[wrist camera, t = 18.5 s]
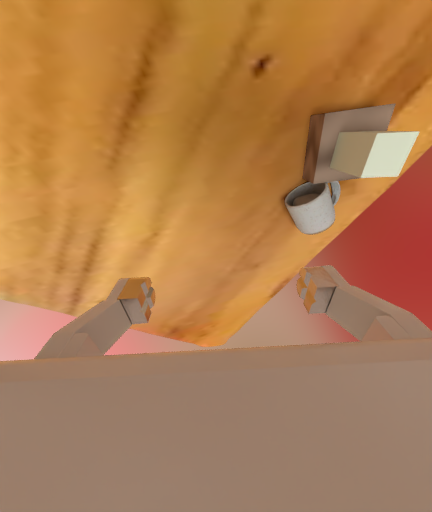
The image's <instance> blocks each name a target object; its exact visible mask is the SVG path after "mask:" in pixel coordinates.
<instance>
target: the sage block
mask: <svg viewBox="0 0 432 512" xmlns="http://www.w3.org/2000/svg"><path fill="white" fill-rule="evenodd" d="M418 134H419V132H417V131H358V132H339V136H338V139H337V143H336V146H335V150H334V153H333V157H332V161H331V164H330V168H332V169H335V170H338V171H341V172H344V173H347V174H350V175H353V176H356V177H359V178H370V177H395V176H398V175H399V173H400V171H401V169H402V167H403V165H404V163H405V161H406V159H407V157H408V155H409V152H410V150H411V148H412V146H413V144H414V142H415V140H416V138H417V136H418Z"/></svg>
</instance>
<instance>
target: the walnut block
mask: <svg viewBox="0 0 432 512" xmlns="http://www.w3.org/2000/svg"><path fill="white" fill-rule="evenodd" d="M394 107H395V104H389V105H382V106H375V107H368V108H360V109H353V110H346V111H339V112H332V113H325V114H318V115H311V119H310V127H309V134H308V141H307V149H306V156H305V164H304V171H303V179H305V180H307V181H309V182H311V183H313V184H317V183H325V182H333V181H341V180H349V179H357V178H359V177H356V176H353V175H350V174H347V173H344V172H341V171H338V170H335V169H332V168H330V164H331V161H332V157H333V153H334V150H335V146H336V143H337V139H338V136H339V132H358V131H387V128H388V125H389V122H390V119H391V116H392V113H393V110H394Z"/></svg>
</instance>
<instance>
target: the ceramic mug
mask: <svg viewBox="0 0 432 512" xmlns="http://www.w3.org/2000/svg"><path fill="white" fill-rule="evenodd" d="M327 183H328V182H325V183H317V184H313V183H311V182H307V183H305V184H303V185H301V186H299V187H297V188H295V189H294V190H293V191H291V192H290V193H289V194H288V195H287V197H286V199H285V205H286V207H287V209H288V211H289V213H290V215H291V217H292V219H293V220H294V223H295V224H296V226H297V228H298V229H299V230H300V231H301V232H302V233H304V234H308V235H313V234H318V233H321V232H323V231H325V230H327V229H328V228H329V227H331V226H332V224H333V223H334V221H335V210H334V207H333V206H334V205H335V204H336V203H337V201H338V199H339V196H340V185H339V182H338V181H333V182H330V183H331V186H332V191H333V192H332V193H333V195H332V198H331V195H330V191H329V187H328V184H327Z"/></svg>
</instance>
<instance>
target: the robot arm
mask: <svg viewBox="0 0 432 512" xmlns="http://www.w3.org/2000/svg"><path fill="white" fill-rule="evenodd" d="M299 274H300V276H301V277H300V278H299V279H298V280H297V291H298V294H299V296H300V297H301V298H302V299H304V306H305V307H306V309H307V311H308V313H309V314H310V313H326V314H327V315H328V316H329V317H330V318H332V319H333V320H334V321H336V322H337V323H338V324H339V325H341V326H342V327H343V328H344V329H346V330H347V331H348V332H349V333H351V334H352V335H353V336H355V337H356V338H357V339H358V340H360V341H361V342H343V343H325V344H307V345H289V346H271V347H255V348H254V347H253V348H234V349H215V350H197V351H180V352H161V353H143V354H124V355H105V356H104V354H105V353H106V352H107V351H108V349H110V347H111V346H112V345H113V344H114V343H115V342H116V341H117V340H118V339H119V338H120V337H121V336H122V335H123V334H124V333H125V332H126V331H127V330H128V329H129V328H130V326H131V325H132V324H140V323H148V321H149V318H150V315H151V310H150V309H151V308H152V307H153V306H154V303H155V291H154V289H153V288H152V287H151V283H152V282H151V280H150V278H149V277H140V278H121V279H119V280H118V282H117V283H116V285H115V287H114V288H113V290H112V291H111V293H110V294H109V296H108V298H107V299H106V301H102V302H100V303H99V304H97V305H96V306H94V307H93V308H91V309H90V310H88V311H87V312H85V313H84V314H82V315H81V316H79V317H78V318H77V319H75V320H73V321H72V322H70V323H69V324H67V325H66V326H64V327H63V328H61V329H60V330H59V331H57V332H55V333H54V334H53V335H52V337H51V338H50V339H49V341H48V342H47V343H46V344H45V346H44V347H43V348H42V350H41V351H40V352H39V353H38V355H37V356H36V357H35V358H34V359H32V360H14V361H0V512H432V331H431V330H430V329H429V328H427V327H426V326H425V325H424V324H423V323H422V322H421V321H420V320H419V319H417V318H416V317H415V316H414V315H413V314H412V313H410V312H408V311H406V310H404V309H402V308H399V307H397V306H395V305H393V304H391V303H389V302H387V301H384V300H383V299H381V298H378V297H376V296H374V295H372V294H370V293H368V292H366V291H364V290H362V289H359V288H357V287H355V286H350V285H349V284H348V283H347V281H346V280H345V279H344V278H343V277H342V276H341V275H340V274H339V273H338V272H337V270H336V269H334V267H333V266H331V265H329V266H320V267H305V268H301V269H300V272H299Z"/></svg>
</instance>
